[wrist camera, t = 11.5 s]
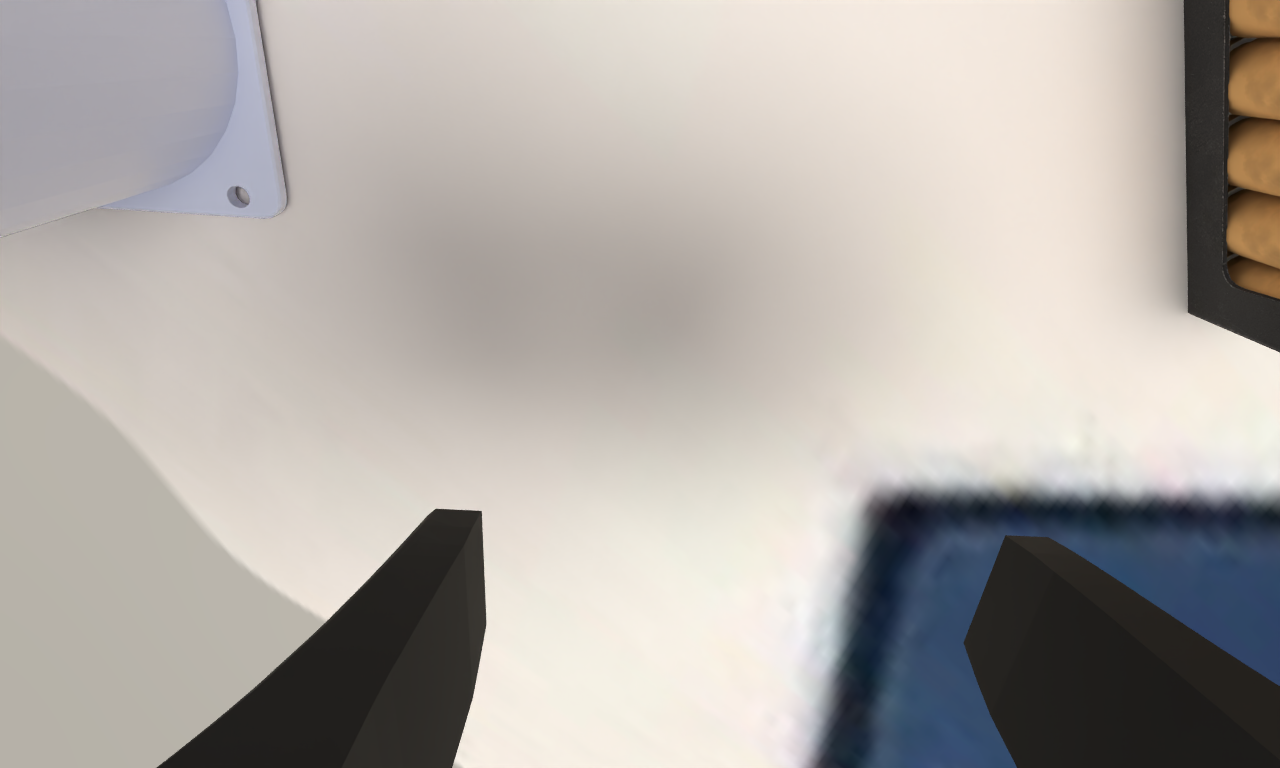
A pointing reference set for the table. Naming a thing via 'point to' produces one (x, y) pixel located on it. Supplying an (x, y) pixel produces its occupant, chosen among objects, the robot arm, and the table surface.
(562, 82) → the table surface
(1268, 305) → the ammunition clip
